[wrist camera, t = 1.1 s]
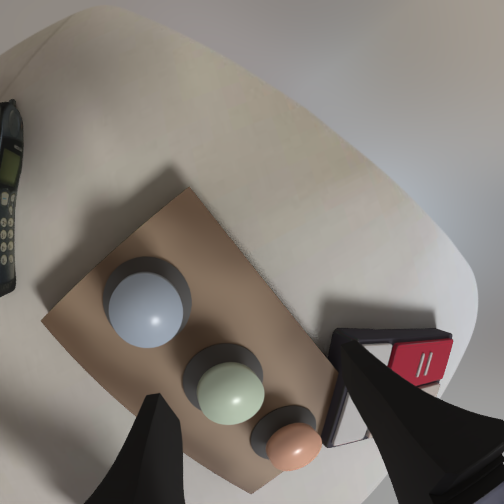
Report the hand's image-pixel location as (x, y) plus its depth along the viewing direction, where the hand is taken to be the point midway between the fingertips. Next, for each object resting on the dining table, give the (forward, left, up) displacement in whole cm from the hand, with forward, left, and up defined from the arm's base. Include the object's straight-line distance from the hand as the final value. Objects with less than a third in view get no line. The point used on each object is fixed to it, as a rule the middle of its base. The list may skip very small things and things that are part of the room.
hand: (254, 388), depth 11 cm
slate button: (-2, +4, -9) cm, 10 cm away
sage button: (-2, -4, -9) cm, 10 cm away
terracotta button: (-2, -12, -9) cm, 15 cm away
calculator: (+8, -18, -13) cm, 24 cm away
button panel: (-2, -4, -12) cm, 13 cm away
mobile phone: (-7, +17, -13) cm, 22 cm away
